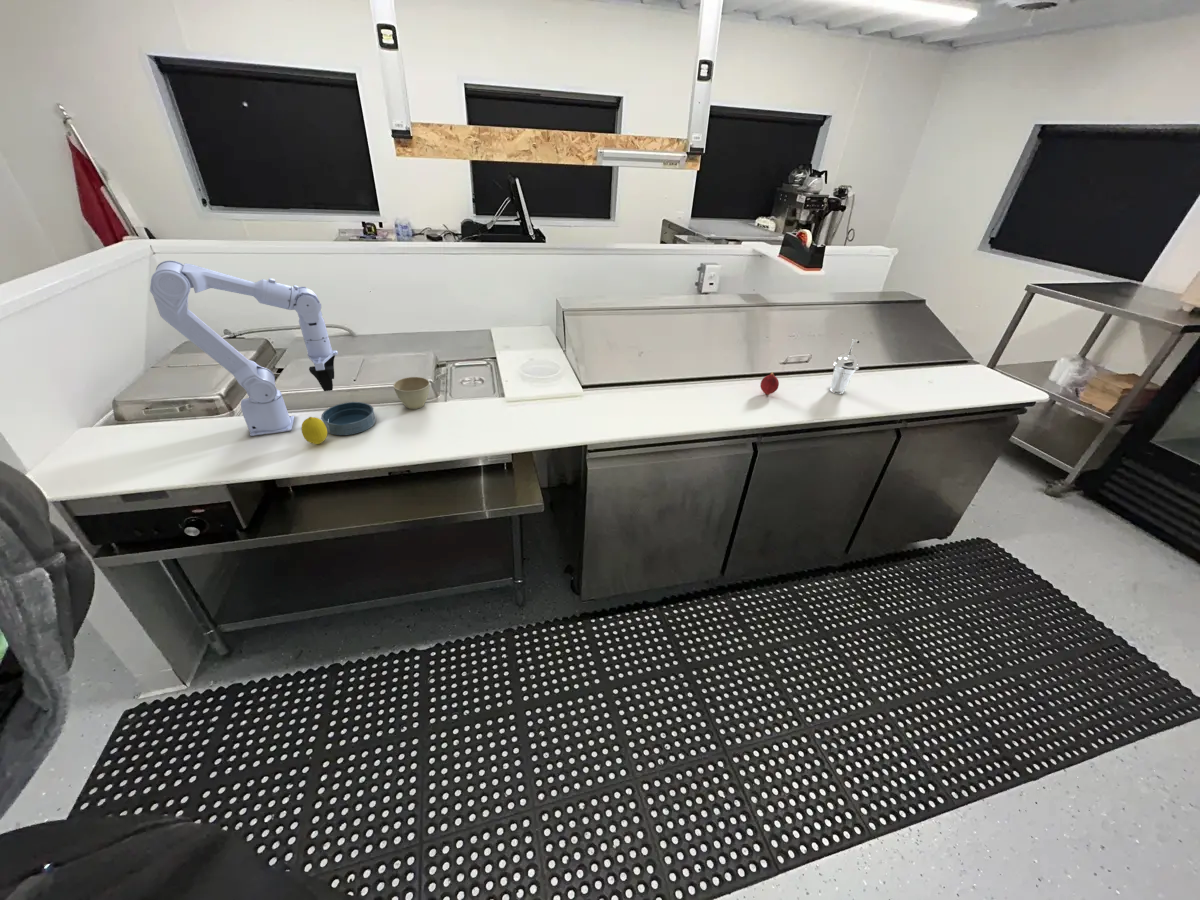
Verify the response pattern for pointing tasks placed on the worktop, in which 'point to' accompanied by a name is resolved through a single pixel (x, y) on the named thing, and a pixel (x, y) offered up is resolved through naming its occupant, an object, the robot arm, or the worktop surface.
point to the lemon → (314, 430)
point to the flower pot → (412, 391)
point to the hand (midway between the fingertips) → (329, 384)
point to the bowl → (349, 418)
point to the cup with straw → (843, 370)
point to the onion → (769, 384)
